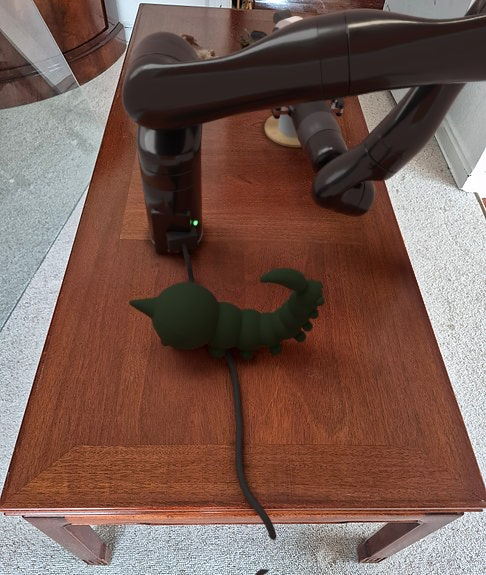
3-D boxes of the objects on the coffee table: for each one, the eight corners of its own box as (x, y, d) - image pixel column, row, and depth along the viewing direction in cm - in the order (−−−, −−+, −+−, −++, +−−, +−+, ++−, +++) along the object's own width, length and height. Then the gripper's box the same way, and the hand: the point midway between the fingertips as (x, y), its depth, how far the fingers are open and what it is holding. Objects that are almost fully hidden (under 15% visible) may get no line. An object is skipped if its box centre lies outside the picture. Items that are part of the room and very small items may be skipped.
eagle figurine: (236, 57, 117) (271, 55, 115) (236, 25, 115) (272, 23, 113) (243, 60, 124) (276, 59, 122) (242, 30, 122) (276, 29, 120)
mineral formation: (217, 107, 103) (230, 62, 98) (145, 83, 99) (155, 34, 94) (212, 85, 122) (224, 46, 116) (152, 64, 117) (161, 22, 112)
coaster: (320, 149, 99) (321, 146, 98) (264, 145, 98) (265, 143, 98) (316, 116, 106) (316, 113, 105) (264, 112, 105) (264, 110, 105)
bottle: (307, 138, 100) (323, 62, 86) (278, 136, 99) (289, 60, 86) (306, 120, 103) (320, 45, 90) (277, 118, 103) (288, 43, 90)
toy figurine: (293, 324, 74) (136, 306, 71) (329, 247, 59) (131, 222, 56) (295, 378, 68) (125, 361, 66) (335, 309, 53) (116, 283, 51)
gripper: (359, 110, 82) (335, 63, 92) (282, 113, 80) (265, 65, 90) (349, 146, 88) (327, 98, 98) (277, 149, 86) (261, 100, 96)
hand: (297, 82), depth 94 cm, fingers open, 8 cm apart
